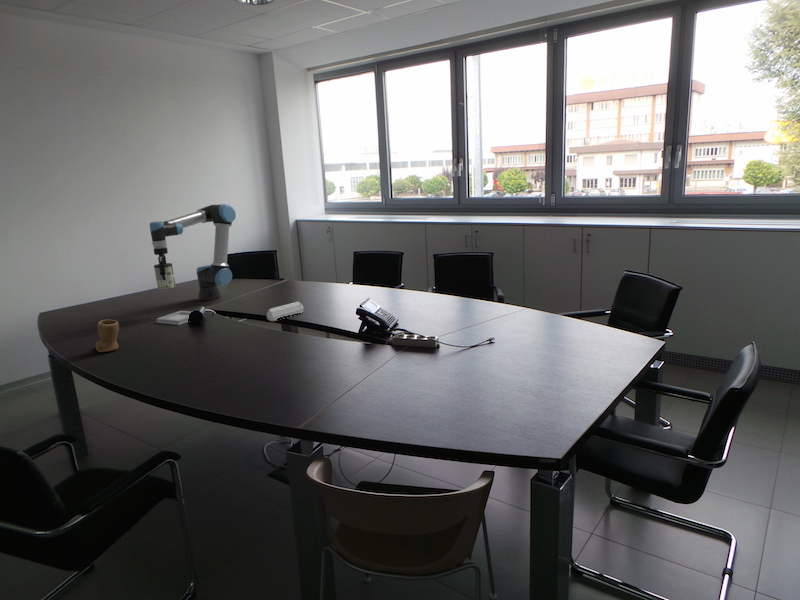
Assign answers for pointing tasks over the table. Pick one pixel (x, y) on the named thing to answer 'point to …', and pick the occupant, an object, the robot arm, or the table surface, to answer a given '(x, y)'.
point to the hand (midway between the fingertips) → (166, 283)
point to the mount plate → (175, 318)
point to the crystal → (284, 311)
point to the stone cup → (107, 335)
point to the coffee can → (168, 274)
